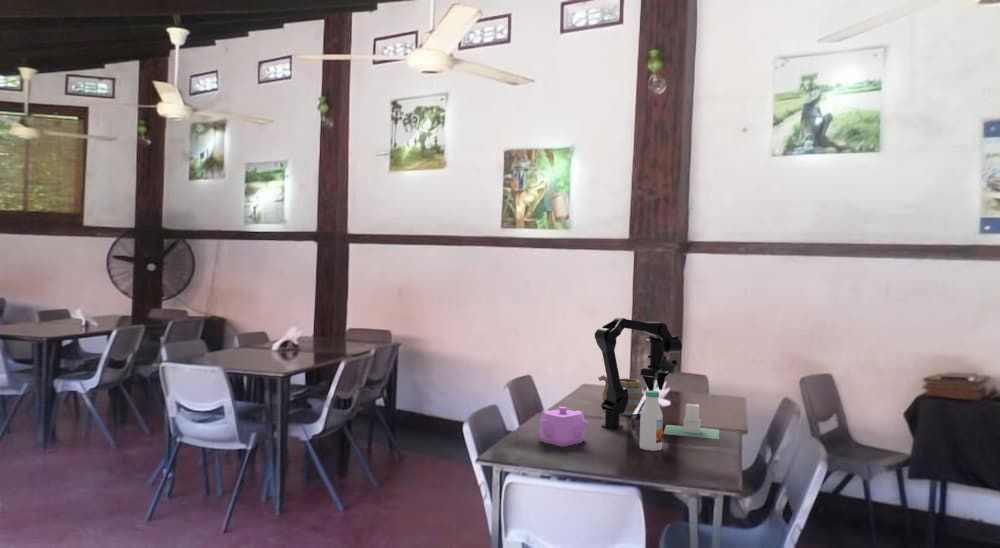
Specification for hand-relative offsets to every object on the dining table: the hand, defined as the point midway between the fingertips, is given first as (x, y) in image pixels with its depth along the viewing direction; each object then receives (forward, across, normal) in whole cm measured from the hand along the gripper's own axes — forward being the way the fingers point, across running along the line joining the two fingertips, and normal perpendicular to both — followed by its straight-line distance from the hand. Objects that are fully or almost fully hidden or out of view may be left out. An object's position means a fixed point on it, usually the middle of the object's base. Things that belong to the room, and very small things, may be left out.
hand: (656, 391), depth 281 cm
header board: (+13, -8, -18) cm, 24 cm away
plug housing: (+12, -8, -18) cm, 23 cm away
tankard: (+13, +12, +22) cm, 28 cm away
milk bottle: (+13, -38, -15) cm, 43 cm away
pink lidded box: (+13, -51, +13) cm, 54 cm away
